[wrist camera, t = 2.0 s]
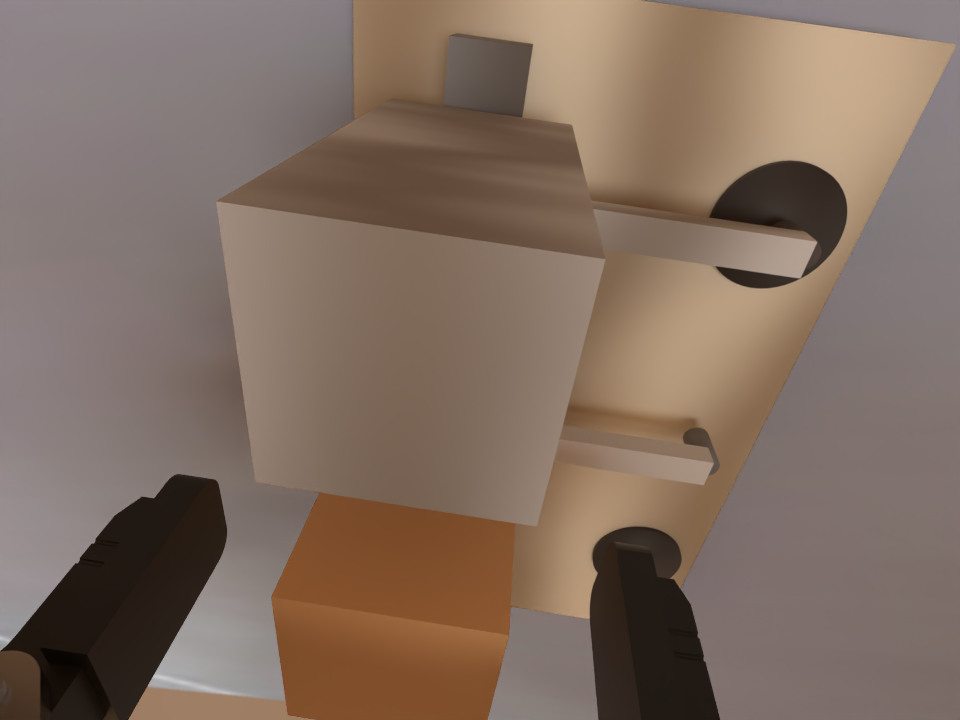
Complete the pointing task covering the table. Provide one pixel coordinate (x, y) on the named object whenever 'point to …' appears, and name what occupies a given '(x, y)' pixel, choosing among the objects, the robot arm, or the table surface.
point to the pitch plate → (672, 163)
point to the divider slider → (423, 593)
